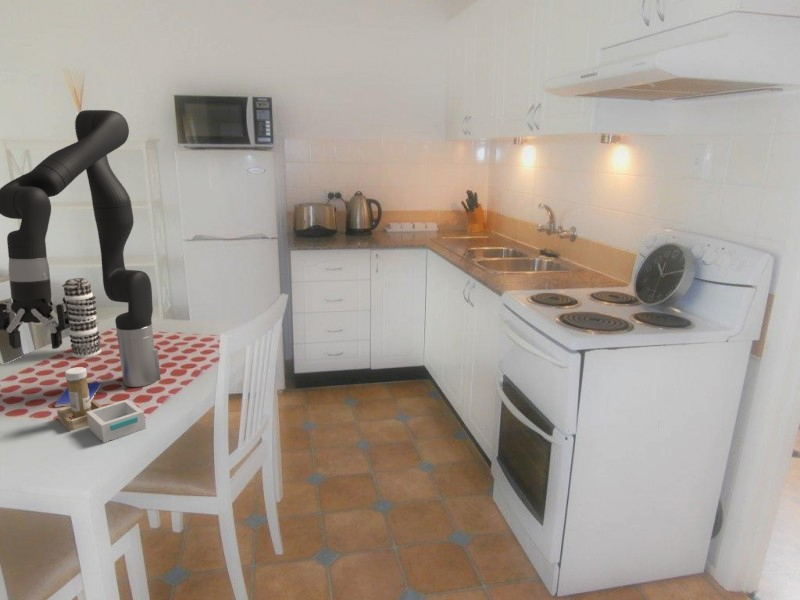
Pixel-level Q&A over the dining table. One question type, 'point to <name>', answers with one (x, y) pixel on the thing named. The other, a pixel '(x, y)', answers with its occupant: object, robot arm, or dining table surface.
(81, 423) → the wooden square frame
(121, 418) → the block
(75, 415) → the sprinkles bottle
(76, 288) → the decorative candle
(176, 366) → the dining table surface
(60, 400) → the hard drive
